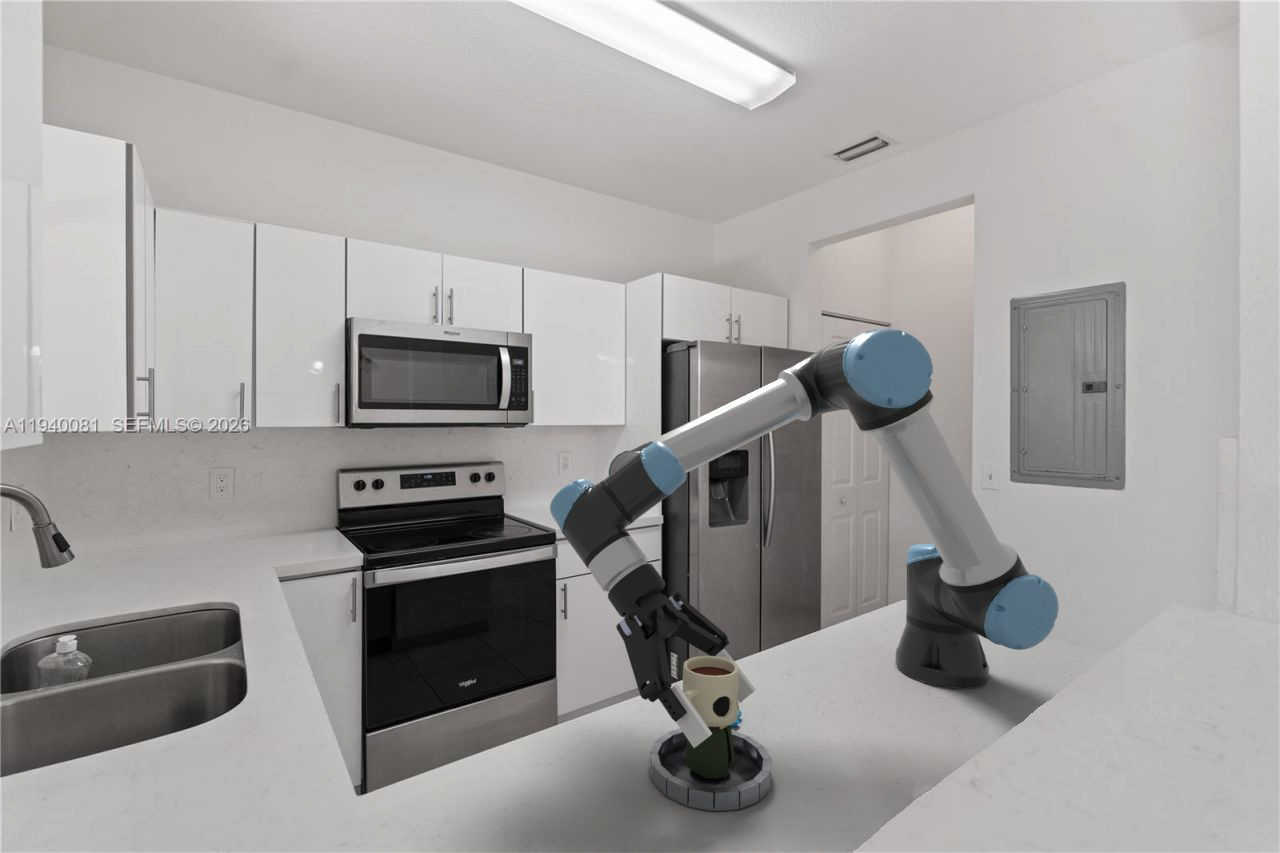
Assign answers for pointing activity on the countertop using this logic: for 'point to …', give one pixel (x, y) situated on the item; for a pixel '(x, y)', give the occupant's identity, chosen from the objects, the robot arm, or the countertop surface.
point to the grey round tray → (711, 793)
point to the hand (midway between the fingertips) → (727, 717)
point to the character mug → (712, 712)
